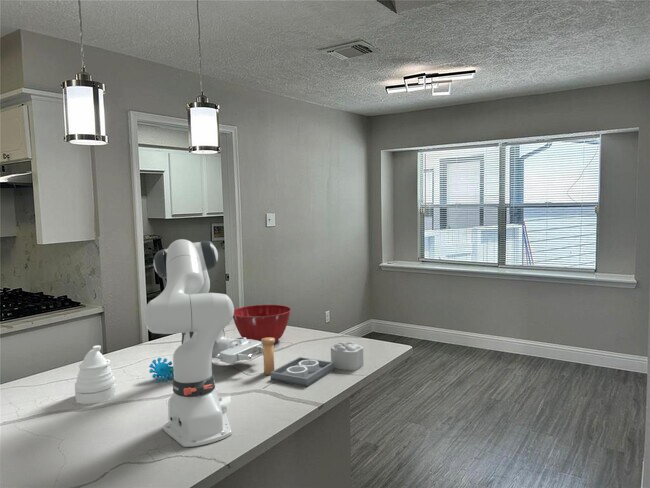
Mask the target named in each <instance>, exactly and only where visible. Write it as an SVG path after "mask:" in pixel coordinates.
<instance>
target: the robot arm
mask: <svg viewBox="0 0 650 488" xmlns="http://www.w3.org/2000/svg"><path fill="white" fill-rule="evenodd" d="M218 252H219V251H218V250H217V248H216V246H215V245H214V243H213V242H212V241H210V240H201V241H200V242H199V241H197V242H196V241H195V242H192V241H190V240H188V239H184V238H183V239H181V238H180V239H176V240H174V241H173V242H171V243H170V244H169V246H168V247H167V248H163V249H161V250H159V251H156V253H155V255H154V256H153V269H154V270H155V272H156V274H157V275H158V277H159V278H161V279H164V280H165V279H166V285H165V288H164V289H163V290H162V292H160V294H158V295H157V296H156V297H155V298H153V299H151V300H149V301H148V303H147V305H145V308H144V311H143V315H142V316H143V322H144V325H145V327H146V328H147V330H148V331H149V332H151V333H152V334H159V335H161V334H162V335H174V334H181V345H179V346H178V347H177V348H176V349H175V351H174V353H173V355H172V366H173V370H174V375H173V378H172V383H171V385H172V391H173V393H172V395H171V396H170V398H169V399H168V401H167V405H168V406H167V407H168V408H167V411H168V413H167V415H168V417H167V418H168V419H167V420H168V422H166V423H164V425H163V426H162V431H164V432H165V433H166V434H167V435H168V436H170V437H171V438H172V439H174V440H175V441H176V442H177V443H178V444H179V445H181V446H182V447H184V448H186V447H187V448H188V447H198V446H202V445H203V446H204V445H207V444H213V443H215V442H218V441H220V440H224V439H225V438H228V437H229V436H231V435H232V428H231V424H230V422H229V418H228V416H227V411H228V410H227V405H226V403H225V404H221V402H222V401H223V398H222V396H219V394H218V388H216V385H215V384H216V383H215V381H216V380H215V377H214V373H213V370H212V369H213V365H212V359H217V360H219V361H220V362H222V363H226V364H229V365H230V364H231V365H232V364H235V363H238V362H239V361H250V360H251V359H252V355H255V354H258V353H259V352H260V354H263V344H262V343H261V341H257V340H252V339H247V338H245V337H237V338H233V337H231V338H229V337H226V335H225V334H226V332H225V328H226V327H227V326H228V325H230V323H231V322H232V320H233V315H234V310H235V307H234V303H233V301H232V299H231V297H230V296H228V295H227V293H226V294H225V293H218V292H210V289H211V279H210V276H209V272H208V271H209V270H211V269H214V268H215V267H216V266H217V264H218V259H219V253H218Z"/></svg>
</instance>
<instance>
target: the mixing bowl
mask: <svg viewBox="0 0 650 488" xmlns="http://www.w3.org/2000/svg"><path fill="white" fill-rule="evenodd" d="M291 312H292V308H291V307H290V306H287V305H283V304H282V305H281V304H254V305H248V306H247V305H246V306H242V307H238V308H234V315H233V318H232V320H233V322H234V324H235V327H236V329H237V331H238V333H239V335H240V338H242V337H245V338H247V339H252V340H257V341H261V339H263V338H267V337H272V338H275V343H276V342H277V341H279V340H280V339H281V338H282V336H283V335H284V333H285V331H286V328H287V325H288V322H289V319H290V316H291Z"/></svg>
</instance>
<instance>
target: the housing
mask: <svg viewBox="0 0 650 488" xmlns="http://www.w3.org/2000/svg"><path fill="white" fill-rule="evenodd" d="M334 371H335V367H334V362H331V361H328V360H321V359H314V358H309V357H303V356H298V357H297V358H295V359H293V360H291V361H289V362H287V363H285V364H284V365H282V366H280V367H278V368H276V369H274V371H272V372H270V375H269V377H270V381H272V382H273V381H274V382H279V383H284V384H289V385H295V386H299V387H304V388H309V387H310V386H312V385H313V384H315V383H316V382H317V381H319V380H321V379H323V378H324V377H325V376H327V375H328V374H330V373H331V372H334Z"/></svg>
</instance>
